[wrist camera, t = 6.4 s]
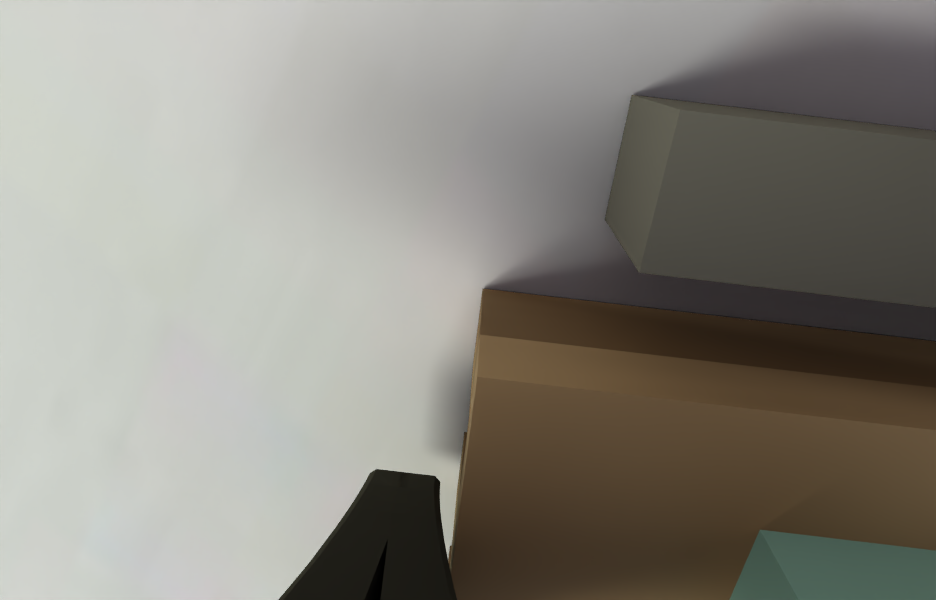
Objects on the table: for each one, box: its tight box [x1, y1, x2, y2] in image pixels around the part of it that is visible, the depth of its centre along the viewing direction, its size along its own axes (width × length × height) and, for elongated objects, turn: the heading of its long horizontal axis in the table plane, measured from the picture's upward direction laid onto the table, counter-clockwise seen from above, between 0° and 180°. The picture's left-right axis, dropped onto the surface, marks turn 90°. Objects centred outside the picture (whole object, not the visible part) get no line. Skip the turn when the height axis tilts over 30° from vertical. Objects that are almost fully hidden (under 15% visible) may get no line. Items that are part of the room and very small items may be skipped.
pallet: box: [448, 289, 936, 600], centre depth 10 cm, size 8×12×3 cm, turn 84°
